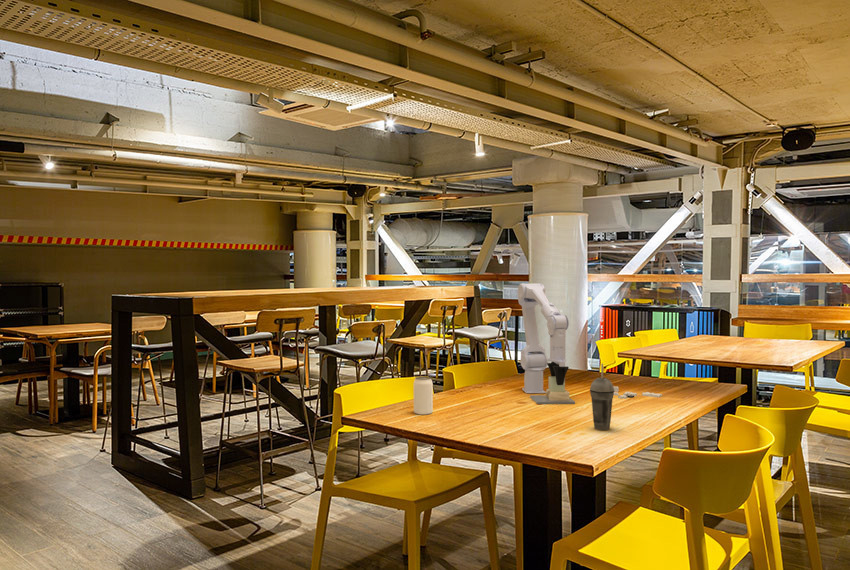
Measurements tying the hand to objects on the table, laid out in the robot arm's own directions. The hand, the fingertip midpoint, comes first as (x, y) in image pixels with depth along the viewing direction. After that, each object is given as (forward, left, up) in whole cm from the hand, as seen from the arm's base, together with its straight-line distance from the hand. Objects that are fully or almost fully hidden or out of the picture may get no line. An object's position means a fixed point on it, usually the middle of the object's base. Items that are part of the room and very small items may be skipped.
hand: (557, 383), depth 236 cm
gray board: (0, -2, -7) cm, 7 cm away
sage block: (0, 0, -3) cm, 3 cm away
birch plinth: (0, 0, -7) cm, 7 cm away
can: (+20, -51, -7) cm, 55 cm away
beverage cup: (+44, +3, -7) cm, 45 cm away
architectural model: (-9, +28, -7) cm, 30 cm away
